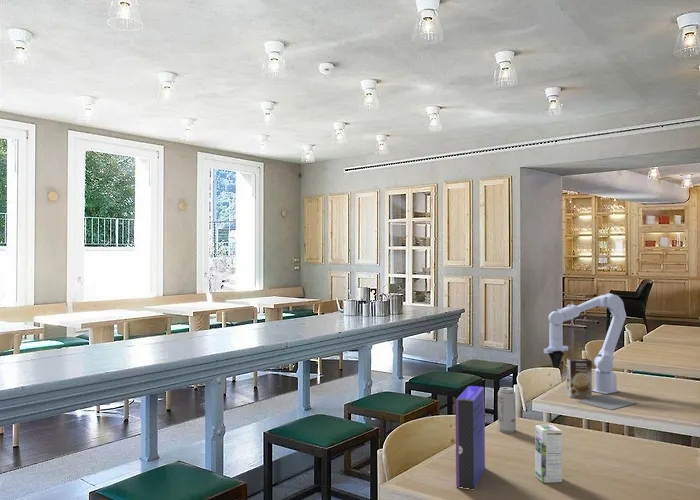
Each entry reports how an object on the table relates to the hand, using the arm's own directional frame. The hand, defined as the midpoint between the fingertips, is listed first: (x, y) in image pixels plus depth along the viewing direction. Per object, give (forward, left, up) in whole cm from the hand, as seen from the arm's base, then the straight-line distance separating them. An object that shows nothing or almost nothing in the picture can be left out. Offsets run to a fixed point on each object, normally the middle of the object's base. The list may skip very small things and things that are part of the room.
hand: (556, 367), depth 269 cm
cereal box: (+105, +53, -10) cm, 119 cm away
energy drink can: (+64, +29, -10) cm, 72 cm away
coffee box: (+1, +13, -10) cm, 17 cm away
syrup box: (+88, +66, -10) cm, 111 cm away
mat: (+1, +26, -10) cm, 28 cm away
